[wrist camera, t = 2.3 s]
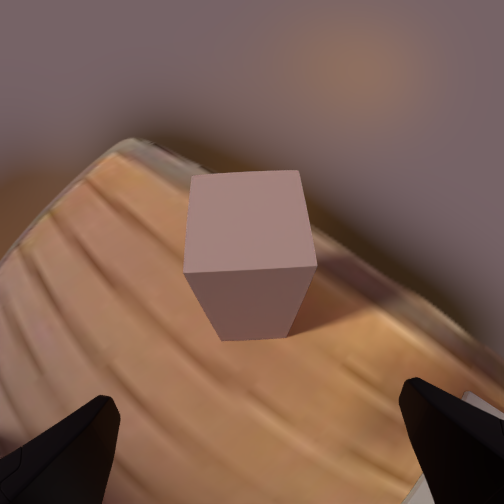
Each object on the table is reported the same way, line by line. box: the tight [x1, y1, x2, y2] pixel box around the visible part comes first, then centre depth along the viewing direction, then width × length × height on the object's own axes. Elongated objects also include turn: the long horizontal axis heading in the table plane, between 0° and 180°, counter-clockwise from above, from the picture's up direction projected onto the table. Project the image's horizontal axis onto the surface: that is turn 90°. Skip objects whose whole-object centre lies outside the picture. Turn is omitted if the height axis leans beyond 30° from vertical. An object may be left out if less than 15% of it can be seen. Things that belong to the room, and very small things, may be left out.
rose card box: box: [183, 170, 317, 341], centre depth 17 cm, size 5×5×12 cm
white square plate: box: [401, 391, 504, 504], centre depth 11 cm, size 18×18×1 cm
